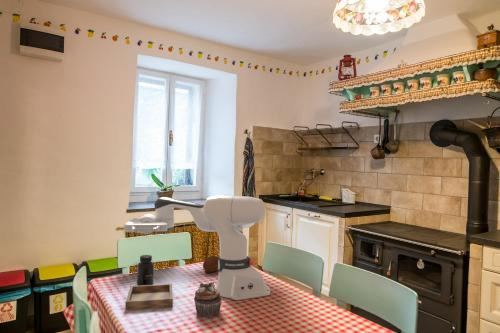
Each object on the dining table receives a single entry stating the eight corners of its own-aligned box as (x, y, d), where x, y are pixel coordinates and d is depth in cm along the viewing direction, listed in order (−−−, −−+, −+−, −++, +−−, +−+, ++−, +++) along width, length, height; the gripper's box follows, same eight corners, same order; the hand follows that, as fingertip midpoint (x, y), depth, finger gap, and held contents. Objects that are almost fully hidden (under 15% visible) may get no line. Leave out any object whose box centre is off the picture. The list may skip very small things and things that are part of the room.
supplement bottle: (148, 287, 142) (149, 258, 142) (133, 286, 143) (134, 257, 143) (156, 282, 149) (156, 254, 149) (141, 280, 150) (142, 253, 150)
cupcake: (197, 320, 113) (198, 290, 113) (191, 309, 122) (192, 281, 122) (225, 316, 117) (226, 287, 117) (217, 305, 126) (217, 278, 126)
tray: (171, 291, 139) (172, 283, 139) (172, 307, 123) (172, 298, 123) (130, 293, 135) (130, 286, 135) (125, 310, 120) (125, 301, 120)
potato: (198, 273, 162) (198, 257, 162) (208, 267, 172) (208, 252, 172) (214, 275, 159) (215, 259, 159) (224, 269, 169) (224, 254, 169)
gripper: (167, 230, 177) (167, 236, 163) (125, 231, 172) (122, 237, 158) (168, 218, 177) (168, 222, 163) (126, 218, 172) (122, 223, 158)
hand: (145, 230), depth 161 cm, fingers open, 8 cm apart
